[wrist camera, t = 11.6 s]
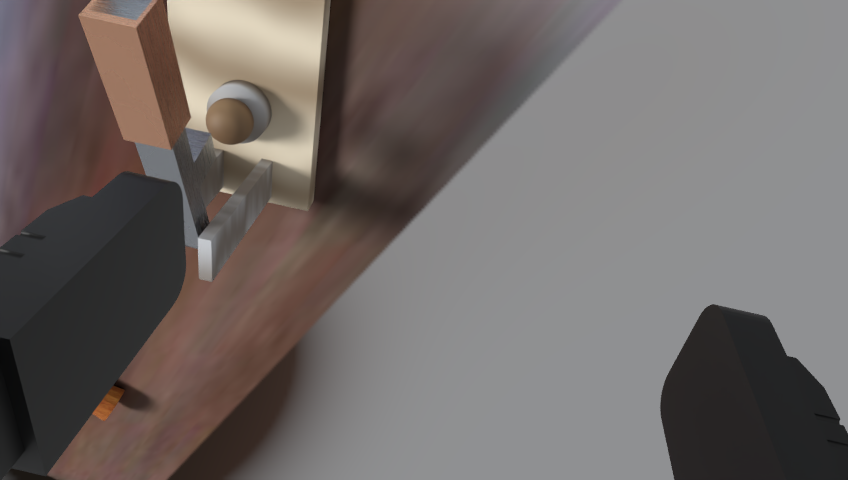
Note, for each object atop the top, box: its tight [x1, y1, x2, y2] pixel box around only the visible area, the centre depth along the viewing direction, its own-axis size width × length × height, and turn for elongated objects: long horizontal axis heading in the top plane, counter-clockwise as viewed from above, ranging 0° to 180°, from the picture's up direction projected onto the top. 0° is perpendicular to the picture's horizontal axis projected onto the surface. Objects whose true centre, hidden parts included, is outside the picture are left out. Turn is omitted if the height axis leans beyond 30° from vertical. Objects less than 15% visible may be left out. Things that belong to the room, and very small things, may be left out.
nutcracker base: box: [167, 0, 331, 282], centre depth 38 cm, size 20×10×12 cm, turn 170°
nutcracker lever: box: [78, 0, 216, 249], centre depth 34 cm, size 17×3×4 cm, turn 170°
